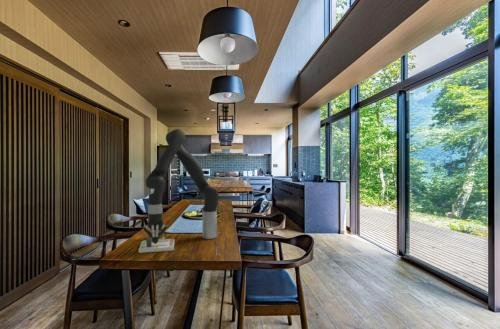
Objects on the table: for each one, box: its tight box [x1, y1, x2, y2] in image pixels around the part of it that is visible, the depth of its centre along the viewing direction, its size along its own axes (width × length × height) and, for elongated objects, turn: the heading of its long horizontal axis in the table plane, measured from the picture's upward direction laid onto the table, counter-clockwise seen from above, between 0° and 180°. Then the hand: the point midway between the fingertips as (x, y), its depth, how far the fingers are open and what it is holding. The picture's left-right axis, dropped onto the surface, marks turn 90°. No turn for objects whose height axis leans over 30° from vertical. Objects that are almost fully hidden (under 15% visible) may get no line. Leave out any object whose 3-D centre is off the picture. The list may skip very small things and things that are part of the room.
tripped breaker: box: [146, 237, 152, 247], centre depth 143 cm, size 2×2×4 cm
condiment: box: [155, 222, 166, 240], centre depth 167 cm, size 7×8×12 cm
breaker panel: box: [138, 238, 175, 254], centre depth 148 cm, size 18×16×2 cm
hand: (155, 243), depth 144 cm, fingers closed
